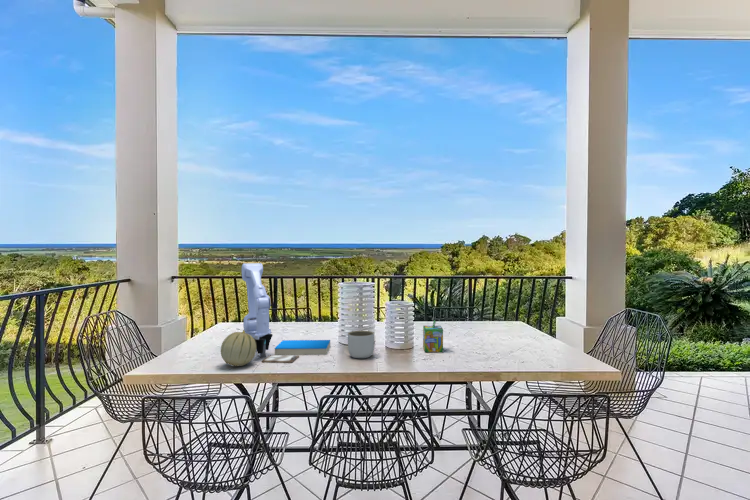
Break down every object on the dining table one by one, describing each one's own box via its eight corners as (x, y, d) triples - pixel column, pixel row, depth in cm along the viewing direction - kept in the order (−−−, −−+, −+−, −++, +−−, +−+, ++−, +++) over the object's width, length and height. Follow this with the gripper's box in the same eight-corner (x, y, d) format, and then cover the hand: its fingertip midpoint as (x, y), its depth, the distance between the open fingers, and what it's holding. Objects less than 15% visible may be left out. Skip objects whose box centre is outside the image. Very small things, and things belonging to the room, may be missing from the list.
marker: (259, 357, 178) (259, 340, 178) (261, 356, 181) (261, 339, 181) (264, 357, 178) (264, 340, 178) (266, 356, 181) (266, 339, 181)
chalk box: (422, 348, 194) (422, 318, 194) (441, 348, 194) (440, 318, 194) (424, 352, 185) (424, 322, 185) (443, 352, 184) (443, 322, 185)
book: (326, 347, 182) (274, 347, 182) (326, 356, 182) (274, 356, 182) (330, 339, 200) (282, 339, 199) (330, 347, 200) (282, 347, 199)
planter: (374, 360, 173) (374, 335, 173) (347, 360, 173) (346, 336, 173) (374, 352, 185) (374, 330, 185) (348, 353, 185) (348, 330, 185)
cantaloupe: (213, 370, 160) (213, 334, 160) (231, 360, 174) (231, 327, 174) (246, 371, 158) (246, 335, 158) (262, 361, 172) (262, 328, 172)
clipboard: (261, 362, 171) (261, 359, 171) (270, 356, 181) (270, 353, 181) (291, 363, 169) (291, 359, 169) (299, 357, 179) (298, 354, 179)
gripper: (264, 325, 172) (264, 355, 172) (276, 320, 186) (276, 347, 186) (249, 325, 173) (250, 355, 173) (262, 319, 187) (263, 347, 187)
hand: (262, 351), depth 179 cm, fingers open, 6 cm apart
